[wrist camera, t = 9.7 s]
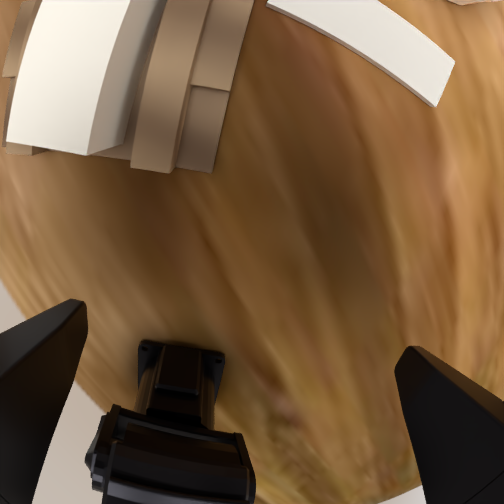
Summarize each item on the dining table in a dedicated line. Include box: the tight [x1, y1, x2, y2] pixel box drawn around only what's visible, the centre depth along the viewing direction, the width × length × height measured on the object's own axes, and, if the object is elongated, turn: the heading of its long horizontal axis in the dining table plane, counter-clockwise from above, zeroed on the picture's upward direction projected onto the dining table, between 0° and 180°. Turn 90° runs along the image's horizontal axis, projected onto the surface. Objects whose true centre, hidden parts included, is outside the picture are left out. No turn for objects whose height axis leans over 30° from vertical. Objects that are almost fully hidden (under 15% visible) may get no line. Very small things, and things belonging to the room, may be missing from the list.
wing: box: [266, 0, 455, 107], centre depth 15 cm, size 4×12×1 cm, turn 65°
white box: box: [6, 0, 167, 156], centre depth 11 cm, size 12×4×5 cm, turn 163°
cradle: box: [2, 0, 254, 174], centre depth 12 cm, size 16×14×3 cm
